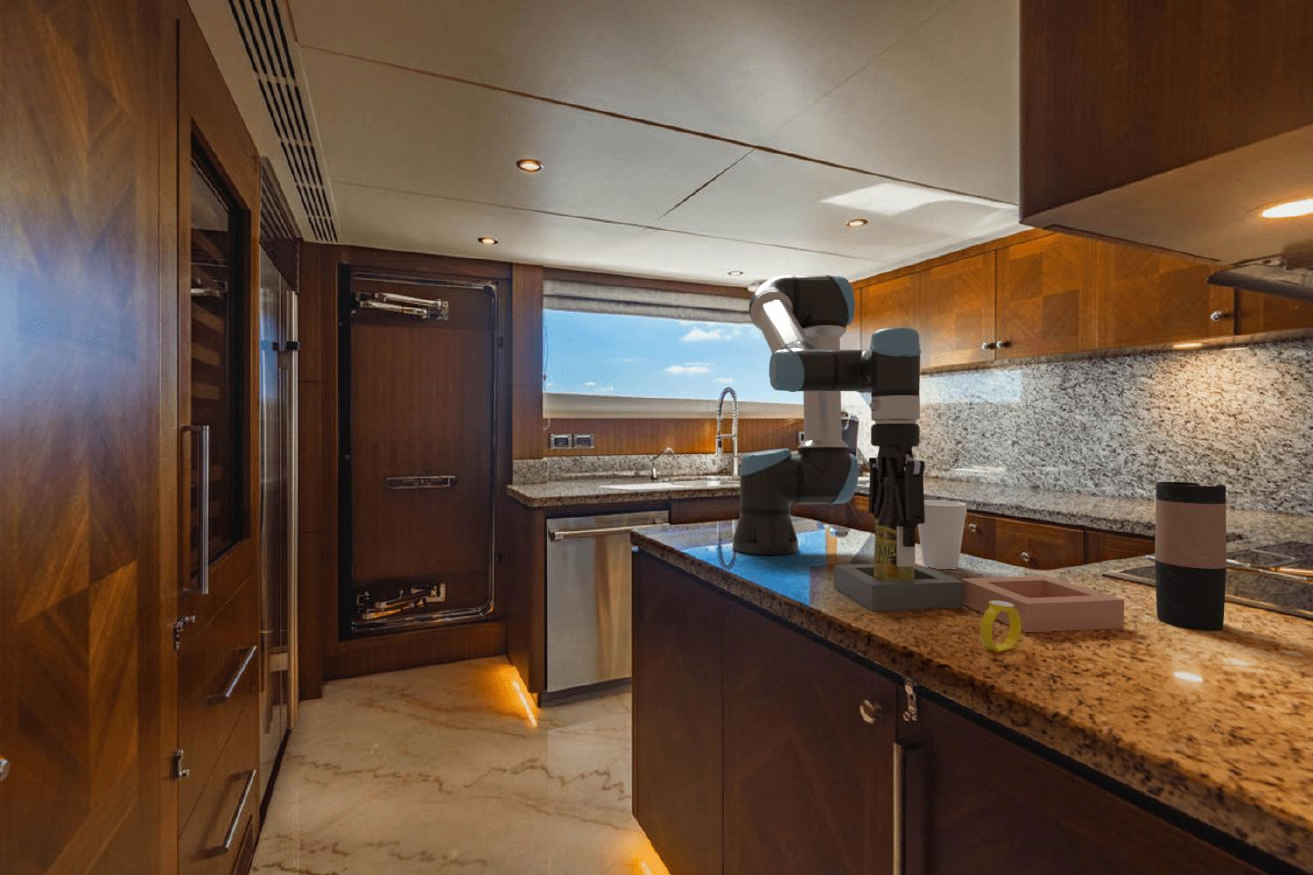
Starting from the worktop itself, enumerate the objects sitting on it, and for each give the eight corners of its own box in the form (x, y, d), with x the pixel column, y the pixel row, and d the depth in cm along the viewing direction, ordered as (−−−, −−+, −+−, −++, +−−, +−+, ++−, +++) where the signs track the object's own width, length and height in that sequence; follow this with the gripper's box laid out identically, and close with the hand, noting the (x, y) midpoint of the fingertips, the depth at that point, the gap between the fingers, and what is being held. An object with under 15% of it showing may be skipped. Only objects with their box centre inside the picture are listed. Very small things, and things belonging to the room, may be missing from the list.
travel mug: (1162, 626, 84) (1163, 484, 84) (1148, 611, 91) (1149, 480, 91) (1235, 634, 80) (1236, 487, 80) (1214, 619, 87) (1215, 482, 87)
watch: (1004, 644, 78) (1007, 599, 78) (1025, 651, 75) (1028, 604, 75) (973, 648, 75) (976, 601, 75) (994, 655, 73) (997, 606, 73)
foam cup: (955, 562, 126) (955, 500, 125) (974, 572, 116) (974, 505, 116) (909, 561, 127) (909, 500, 127) (923, 571, 117) (923, 505, 117)
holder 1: (833, 587, 105) (833, 564, 105) (913, 584, 107) (913, 562, 107) (872, 611, 91) (872, 585, 91) (963, 607, 93) (963, 582, 93)
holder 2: (960, 603, 95) (961, 578, 95) (1046, 600, 97) (1046, 575, 97) (1025, 632, 81) (1025, 603, 81) (1123, 628, 83) (1124, 599, 83)
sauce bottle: (865, 594, 101) (865, 476, 101) (893, 590, 103) (893, 475, 103) (895, 603, 95) (895, 479, 95) (924, 599, 97) (923, 478, 97)
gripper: (847, 423, 108) (847, 550, 108) (904, 421, 89) (904, 576, 89) (887, 423, 109) (886, 549, 109) (951, 421, 90) (951, 574, 90)
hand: (894, 561), depth 99 cm, fingers closed on sauce bottle, 6 cm apart
